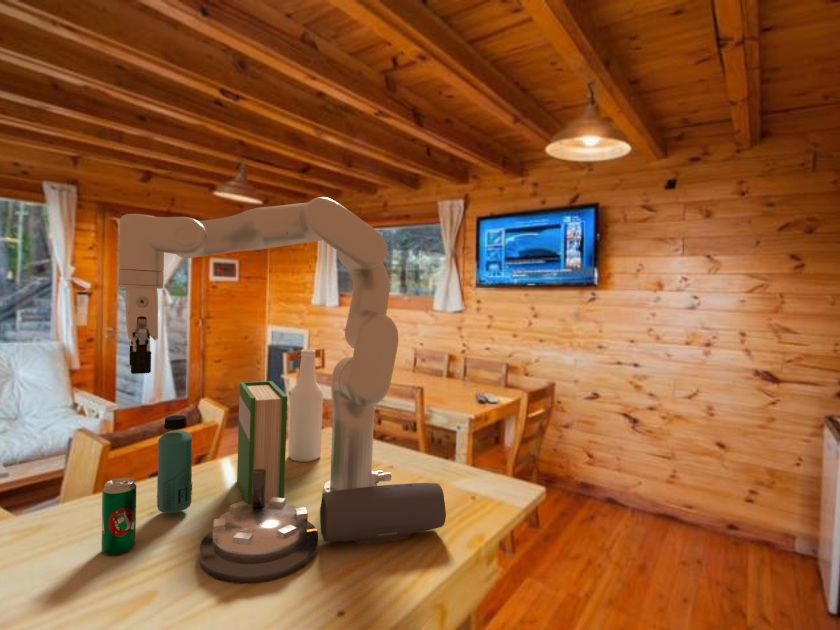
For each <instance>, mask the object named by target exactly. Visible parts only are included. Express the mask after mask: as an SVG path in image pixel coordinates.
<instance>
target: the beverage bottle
mask: <svg viewBox="0 0 840 630" xmlns="http://www.w3.org/2000/svg"><path fill="white" fill-rule="evenodd" d="M187 426H188V422H187V416H186V415H183V414H174V415H169V416H166V417H165V418H164V424H163V428H164V429H165V430H170V431H168V432H165V433H164V434H162V435H161V436H160V437H159V438H158V441H157V442H158V444H157V445H158V448H157V450H158V455H157V458H158V459H157V460H158V461H157V462H158V465H157V481H156V482H157V484H156V490H157V492H156V507H157V509H158V511H159V512H161V513H166V514H172V513H179V512H182V511H185V510H187V509H188V508H189V507H190V506H191V503H192V500H193V497H192V495H193V481H192V478H193V475H192V474H193V473H192V468H193V456H194V455H193V435H191V433H189V432H187V431H186V430H181V429H185V428H187Z"/></svg>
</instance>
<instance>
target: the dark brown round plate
mask: <svg viewBox="0 0 840 630" xmlns="http://www.w3.org/2000/svg"><path fill="white" fill-rule="evenodd" d="M212 544H213V529H212V530H211V531H210V532H208V533H207V534H206V535H205V536H204V537H203V539H202V541H201V543H200V545H199V555H198V556H199V557H198V558H199V565H200V568H201V569H202V571H203V572H204V573H205V574H207V575H208V576H209V577H211V578H213V579H215V580H218V581H221V582H225V583H231V584H241V585H242V584H248V585H249V584H260V583H266V582H272V581H275V580H278V579H282V578H284V577H288V576H291V575H292V574H294V573H297V572H298V571H300V570H302V569H303V568H305V567H306V566H307V565H308V564H309V563H311V561H312V560H313V559H314V558H315V557H316V554H317V552H318V550H319V549H318V548H319V532H318V529H317V528H316V527H315V525H314V524H313V523H311V522H310V521H309V520H307V538H306V541H305V542H304V544H303V545H302V546H301V547H300V548H299V549H297V550H296V551H294V552H293V553H291V554H289V555H287V556H284V557H282V558H279V559H275V560H271V561H267V562H260V563H239V562H233V561H229V560H226V559H224V558H222V557H220V556H219V555H217V554H216V553H215V552H214V550H213V546H212Z"/></svg>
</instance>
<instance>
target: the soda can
mask: <svg viewBox="0 0 840 630" xmlns="http://www.w3.org/2000/svg"><path fill="white" fill-rule="evenodd" d="M101 492H102V493H101V494H102V495H101V547H100V549H101V552H102V553H103V554H105V555H106V556H112V557H113V556H120V555H121V556H122V555H123V554H126V553H128V552H130V551H131V550H132V549H133V548H134V547H135V545H136V537H137V536H136V531H137V528H136V526H137V484H136V482H135V479H134V478H132V477H119V478H112V479H111V480H109V481H107V482H106V483H105V484H104V488H103V489H102V490H101Z"/></svg>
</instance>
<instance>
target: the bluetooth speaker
mask: <svg viewBox="0 0 840 630" xmlns="http://www.w3.org/2000/svg"><path fill="white" fill-rule="evenodd" d="M444 495H445V494H444V491H443V489H442V486H441V485H440V484H439V483H437V482H436V483H435V482H413V483H398V484H397V483H395V484H382V485H377V486H371V487H362V488H354V489H346V490H339V491H333V492H328V493H324V492H323V493H322V494H321V501H320V502H321V504H320V509H319V523H320V524H319V525H320V533H321V535H322V539H323V542H347V541H348V542H350V541H351V542H352V541H355V543H356V544H357V545H369V544H368V543H372V544H378V542H380V543H387V541H388V542H394V541H393V540H396V541H400V540H399V539H401V540H404V539H403V538H405V539H407V537H408V538H409V536H410V534H417V533H420V532H425V531H430V530H435V529H439V528H442V527H443V526H444V525H445V523H446V518H447V512H446V510H447V509H446V502H445V496H444Z"/></svg>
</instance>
